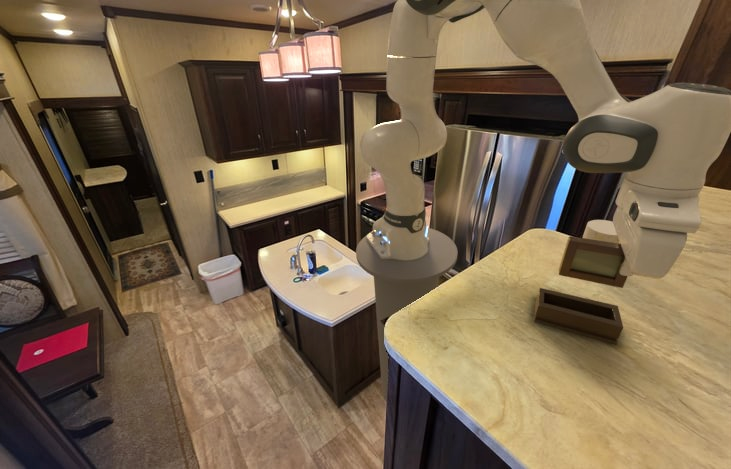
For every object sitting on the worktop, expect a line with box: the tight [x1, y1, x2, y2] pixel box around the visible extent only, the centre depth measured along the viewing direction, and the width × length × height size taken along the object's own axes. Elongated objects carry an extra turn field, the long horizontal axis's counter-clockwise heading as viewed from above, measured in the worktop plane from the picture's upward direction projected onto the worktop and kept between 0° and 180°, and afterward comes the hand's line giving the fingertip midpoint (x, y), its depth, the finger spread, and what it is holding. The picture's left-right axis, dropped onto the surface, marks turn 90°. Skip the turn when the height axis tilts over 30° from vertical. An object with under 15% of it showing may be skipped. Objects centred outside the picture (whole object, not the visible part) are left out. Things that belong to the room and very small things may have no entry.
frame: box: [558, 235, 629, 289], centre depth 54 cm, size 2×10×8 cm, turn 60°
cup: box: [582, 219, 619, 243], centre depth 74 cm, size 8×8×12 cm
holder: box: [533, 287, 624, 345], centre depth 60 cm, size 8×14×4 cm, turn 61°
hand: (622, 268), depth 52 cm, fingers closed on frame, 2 cm apart
